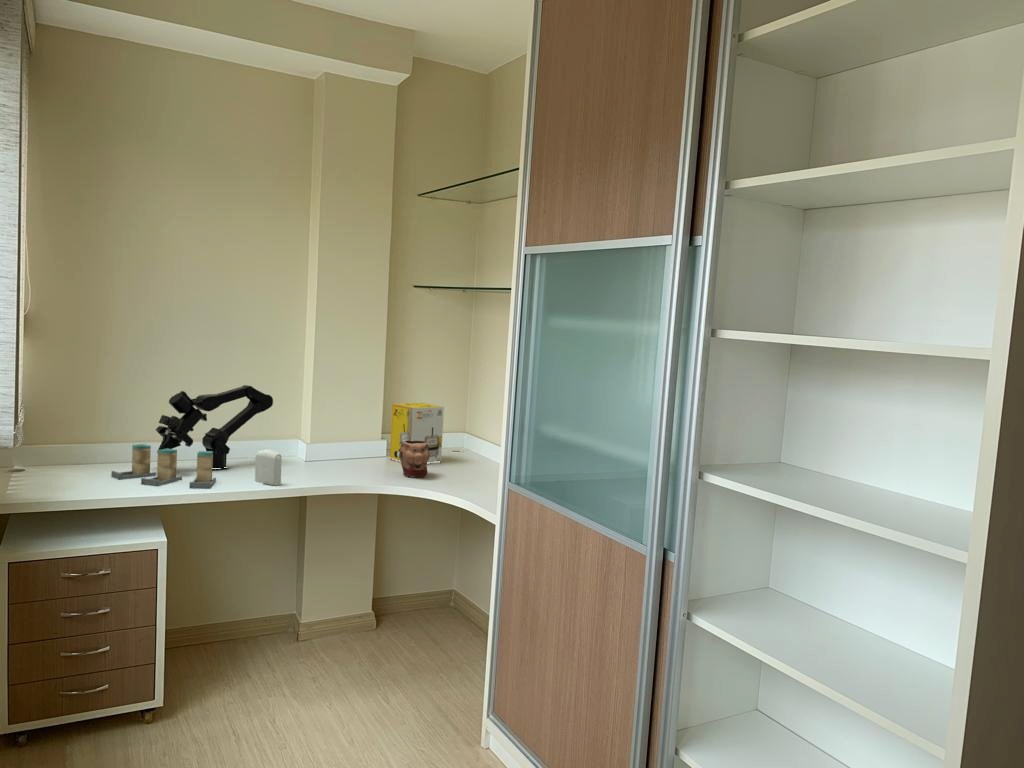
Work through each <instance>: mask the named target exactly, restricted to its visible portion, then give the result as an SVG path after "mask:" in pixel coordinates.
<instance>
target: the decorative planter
mask: <svg viewBox="0 0 1024 768" xmlns="http://www.w3.org/2000/svg"><path fill="white" fill-rule="evenodd" d="M429 458H430V452H429V449H428V446H427V443H426V442H424V441H404V442H403V444H402V448H401V449H400V452H399V459H400V461H401V463H400V464H401V465H400V466H401V469H402V471H403V473H402V474H403V476H405V477H408V476H410V477H409V478H424V477H423V476H426V475H428V464H427V462H428V460H429ZM426 477H427V476H426Z"/></svg>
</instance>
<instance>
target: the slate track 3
mask: <svg viewBox="0 0 1024 768" xmlns="http://www.w3.org/2000/svg"><path fill="white" fill-rule="evenodd" d="M216 481H217V477H212V481H211V482H197V476H196V477H195V478H194V479H193V481H189V489H197V490H199V489H202V490H203V489H204V490H210V489H212V487H213V486H214V484H215V483H216Z"/></svg>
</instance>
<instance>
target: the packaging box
mask: <svg viewBox="0 0 1024 768" xmlns="http://www.w3.org/2000/svg"><path fill="white" fill-rule="evenodd" d="M391 405H392V407H391V421H390V422H391V423H390V443H389V444H390V445H389V458H390V457H391V458H394V459H397V460H400V459H399V452H400V449H401V448H402V444H403V442H404V441H424V442H426V443H427V446H428V449H429V452H430V458H429V460H428V462H434V461H441V462H442V452H443V451H442V448H443V433H444V432H443V428H444V413H445V411H444V410H445V407H443V406H439V405H435V404H429V403H425V402H404V403H403V402H402V403H401V402H400V403H399V402H398V403H391Z"/></svg>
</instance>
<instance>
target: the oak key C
mask: <svg viewBox="0 0 1024 768" xmlns="http://www.w3.org/2000/svg"><path fill="white" fill-rule="evenodd" d="M196 455H197V456H196V457H197V459H196V477H197V482H211V481H212V480H213V470H212V463H213V451H206V450H200V451H198V452H197V453H196Z"/></svg>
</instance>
